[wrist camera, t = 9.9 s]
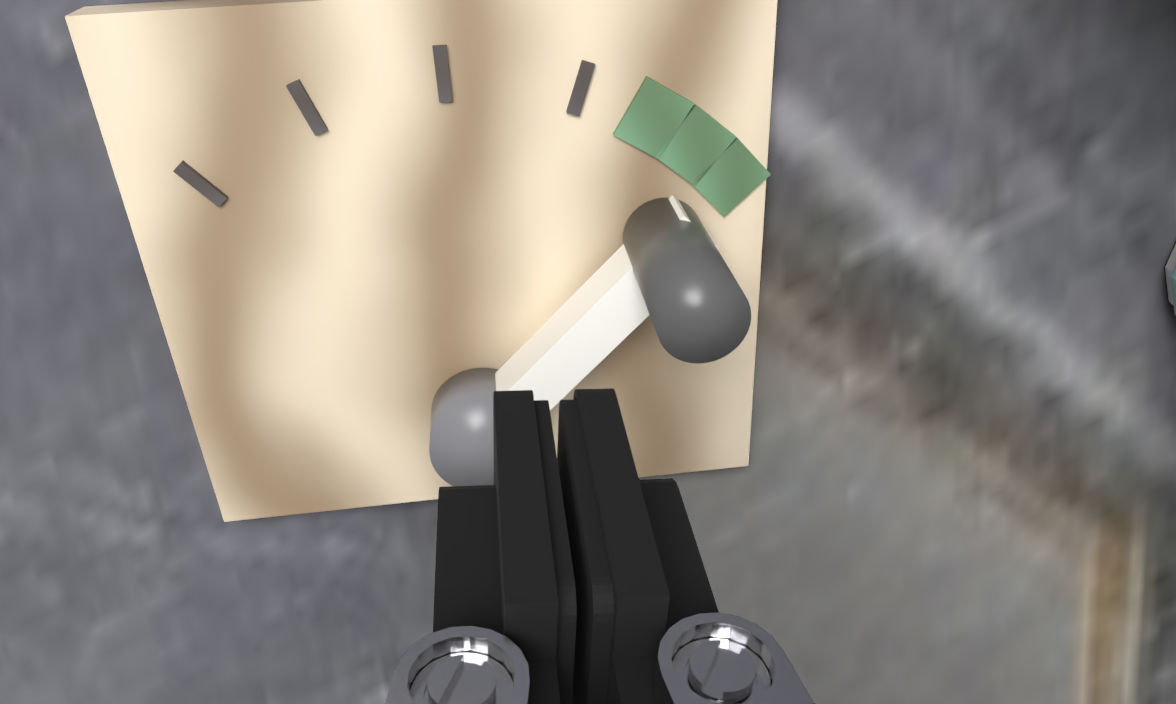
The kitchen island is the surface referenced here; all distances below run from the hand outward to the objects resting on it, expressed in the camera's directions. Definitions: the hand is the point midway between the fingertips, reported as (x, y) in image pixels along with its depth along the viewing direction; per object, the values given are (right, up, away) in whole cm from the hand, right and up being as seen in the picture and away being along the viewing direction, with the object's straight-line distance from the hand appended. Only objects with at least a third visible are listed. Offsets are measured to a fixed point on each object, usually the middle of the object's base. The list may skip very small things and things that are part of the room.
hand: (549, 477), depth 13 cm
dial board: (-4, +5, +19) cm, 20 cm away
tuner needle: (0, +2, +19) cm, 19 cm away
